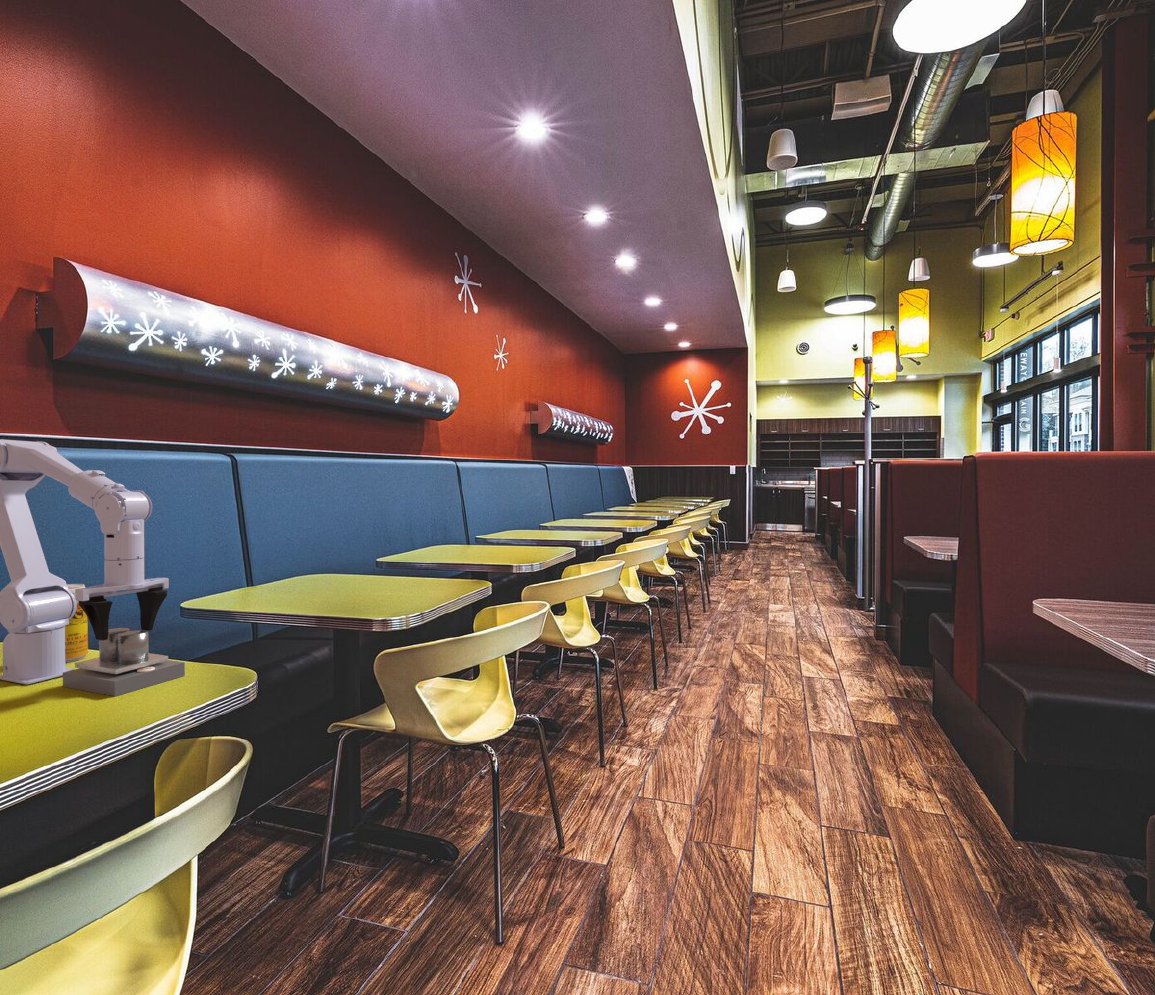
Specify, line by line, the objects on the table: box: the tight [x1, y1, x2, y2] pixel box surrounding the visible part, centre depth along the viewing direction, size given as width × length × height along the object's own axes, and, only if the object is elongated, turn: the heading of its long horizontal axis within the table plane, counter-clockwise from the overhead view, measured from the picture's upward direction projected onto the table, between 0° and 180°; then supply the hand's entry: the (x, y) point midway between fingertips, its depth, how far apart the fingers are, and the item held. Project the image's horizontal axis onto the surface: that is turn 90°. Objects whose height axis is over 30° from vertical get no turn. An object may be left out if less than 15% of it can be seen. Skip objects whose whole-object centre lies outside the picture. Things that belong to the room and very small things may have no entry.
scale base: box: [62, 659, 186, 697], centre depth 109 cm, size 14×12×3 cm
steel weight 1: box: [98, 627, 131, 662], centre depth 110 cm, size 4×4×5 cm
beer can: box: [65, 583, 89, 664], centre depth 123 cm, size 6×6×15 cm
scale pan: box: [74, 652, 169, 674], centre depth 109 cm, size 11×9×1 cm
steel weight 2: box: [118, 629, 150, 665], centre depth 108 cm, size 4×4×5 cm
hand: (125, 634), depth 108 cm, fingers open, 7 cm apart
